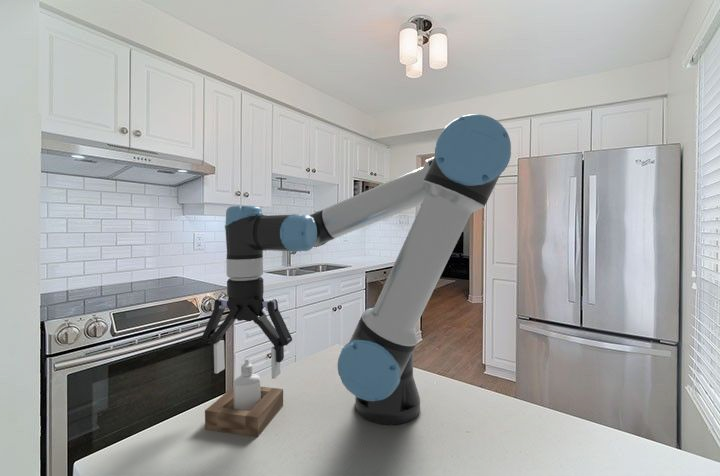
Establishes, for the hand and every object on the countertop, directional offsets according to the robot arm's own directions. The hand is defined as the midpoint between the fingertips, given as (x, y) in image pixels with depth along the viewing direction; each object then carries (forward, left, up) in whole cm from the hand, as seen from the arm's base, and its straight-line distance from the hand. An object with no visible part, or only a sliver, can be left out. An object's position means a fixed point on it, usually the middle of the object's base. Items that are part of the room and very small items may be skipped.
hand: (247, 373), depth 76 cm
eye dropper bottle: (0, 0, -9) cm, 9 cm away
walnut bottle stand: (0, 0, -10) cm, 10 cm away
